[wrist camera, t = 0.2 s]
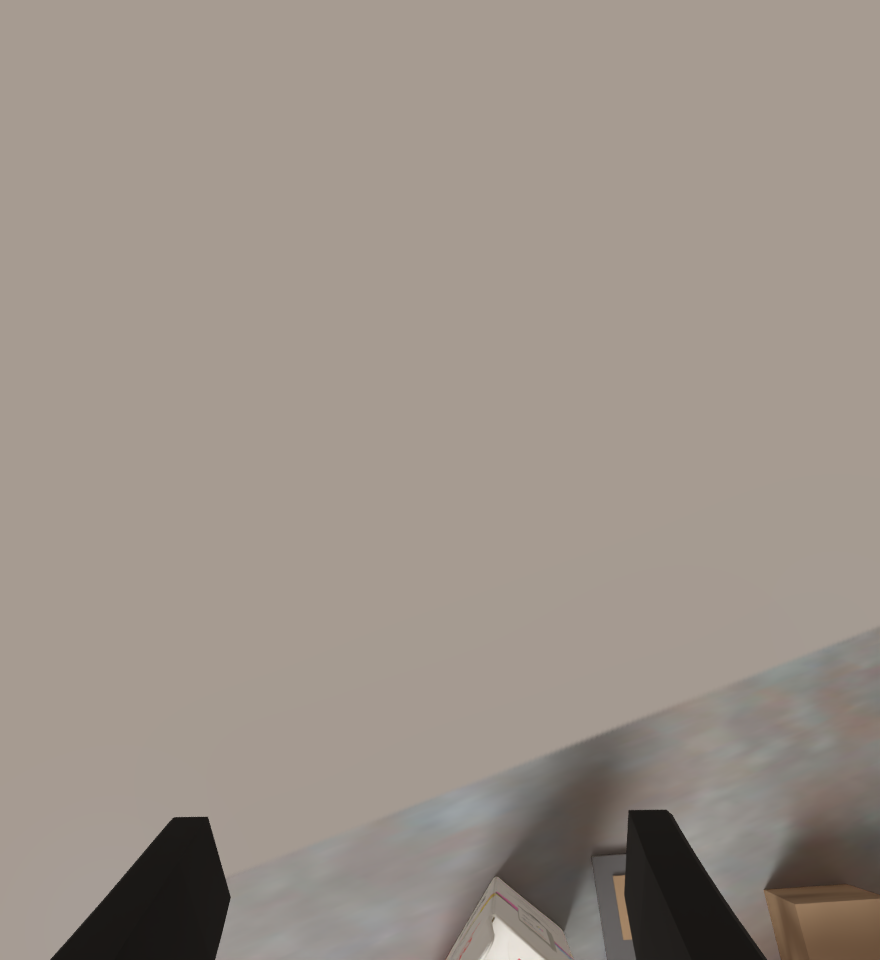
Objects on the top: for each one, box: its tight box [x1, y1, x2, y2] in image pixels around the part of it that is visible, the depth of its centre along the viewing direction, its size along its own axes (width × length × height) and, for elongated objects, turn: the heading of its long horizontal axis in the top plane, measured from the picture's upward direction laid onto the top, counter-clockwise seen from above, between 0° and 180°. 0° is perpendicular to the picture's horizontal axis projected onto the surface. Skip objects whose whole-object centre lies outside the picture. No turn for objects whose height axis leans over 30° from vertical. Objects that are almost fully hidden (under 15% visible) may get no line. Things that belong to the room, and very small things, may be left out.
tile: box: [591, 854, 636, 960], centre depth 36 cm, size 5×5×1 cm
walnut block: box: [764, 884, 880, 960], centre depth 32 cm, size 4×4×4 cm
